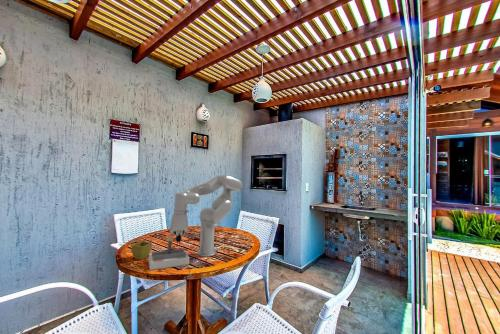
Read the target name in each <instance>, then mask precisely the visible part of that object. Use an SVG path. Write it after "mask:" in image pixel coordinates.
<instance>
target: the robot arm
mask: <svg viewBox="0 0 500 334" xmlns="http://www.w3.org/2000/svg"><path fill="white" fill-rule="evenodd" d="M221 188H223V189H222V193H221V194H220V195H219V196H218V197H217V198H215V200H214V201H213V202H212V203H211V208H210V207H204V208H203V209H202V210H201V211H200V213H199V220H200V221H199V223H200V233H199V234H200V238H199V250H197V256H200V257H203V258H204V257H206V258H207V257H212V256H215V255H216V253H217V252H216V251H220V250H221V247H220V246H214V245H215V243H214V242H215V225H218V224H220V222H222V221H223V220H224V219H225V218H226V217H227V216H228V215H229V213H231V210H232V208H233V204H232V202H231V201H232V198H233V192H240V191H242V189H243V183H242V181H241V180H240V179H237V178H235V177H233V176H230V175H225V174H222V175H221V174H220V175H216V176H214V177H213V178H211V179H209V180H207V181H206V182H204V183H201V184H198V185H195V186H193V187H191V188H189V189H188V190H186V191H184V192H176V193H175V195H174V207H173V214H172V215H171V220H170V231H169V233H171V234H173V235H175V241H176V242H177V243H181V241H182V236H183V234H186V233H188V232H189V231H188V228H189V220H188V219H189V217H188V214H189V213H190V211H189V210H187V209H188V205H196V204H199V202H200V200H201V196H205V195H206V196H207V195H209V194H210V195H211V194H212V193H214V192H215V191H217V190H219V189H221ZM187 213H188V214H187Z"/></svg>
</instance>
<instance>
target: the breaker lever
mask: <svg viewBox="0 0 500 334" xmlns="http://www.w3.org/2000/svg"><path fill="white" fill-rule="evenodd" d="M166 240H167V251H168V252H165V254H172V253H173V252H172V251H171V250H172V242H174V234H173V233H171V234H166Z"/></svg>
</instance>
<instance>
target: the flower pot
mask: <svg viewBox="0 0 500 334" xmlns="http://www.w3.org/2000/svg"><path fill="white" fill-rule="evenodd" d="M152 244H153V243H152V242H147V241H138V242H136V243H133V244H131V245H130V247H131V254H132V256H133V259H136V260H139V261H141V260H143V259H146V258H148V257H149V255H150V253H151V250H152Z"/></svg>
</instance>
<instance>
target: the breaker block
mask: <svg viewBox="0 0 500 334" xmlns="http://www.w3.org/2000/svg"><path fill="white" fill-rule="evenodd" d="M171 251H172V252H173V253H172V254H165V252H168V250H161V251H152V252H151V254H149V255H148V261H147V262H148V266H149V267H148V268H149V271H152V270H154V269H155V270H160V269H167V268H173V267H181V266H186V265H190V256H189V254H188V253H187V251H186V250H185V249H184V248H177V249H176V248H175V249H171Z"/></svg>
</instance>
